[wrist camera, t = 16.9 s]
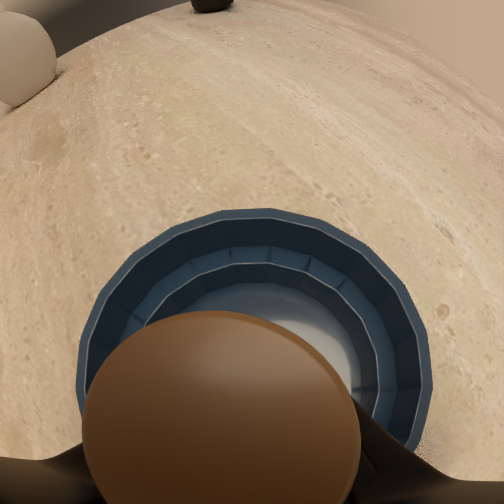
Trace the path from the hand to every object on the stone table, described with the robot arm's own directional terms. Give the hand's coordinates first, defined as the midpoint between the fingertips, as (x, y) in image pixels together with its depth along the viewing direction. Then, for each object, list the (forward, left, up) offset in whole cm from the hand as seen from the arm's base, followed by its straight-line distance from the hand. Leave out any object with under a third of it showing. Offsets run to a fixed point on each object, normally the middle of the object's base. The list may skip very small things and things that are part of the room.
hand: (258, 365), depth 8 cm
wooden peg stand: (-1, -1, -7) cm, 7 cm away
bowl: (-1, 0, -9) cm, 9 cm away
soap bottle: (+11, +61, -9) cm, 63 cm away
